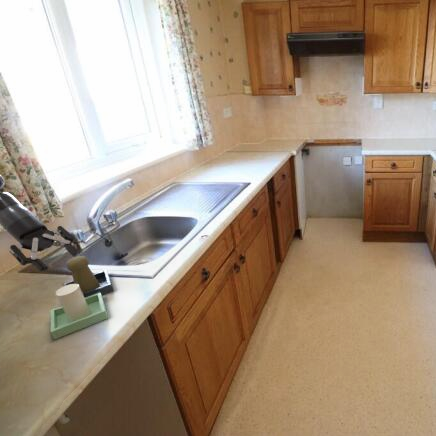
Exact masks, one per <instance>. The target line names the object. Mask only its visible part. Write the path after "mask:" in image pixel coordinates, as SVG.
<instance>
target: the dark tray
mask: <svg viewBox="0 0 436 436" xmlns="http://www.w3.org/2000/svg"><path fill="white" fill-rule="evenodd" d="M93 275H94V276H95V278H96V279H97V281H98V282H99V284H100V287H99V288H96V289H93V290H90V291H87V292H84V293H83V295H84V297H85V298H86V297H89V296H92V295H94V294H97V293H101V295H102V296H104V295H106V294H109V293H112V292H114V291H115V290H114V287H113V284H112V281H111V277H110V275H109V272H108V270H107V269H104V270H102V271H98V272H94V273H93ZM69 284H74V280H73V279H72V280H71V281H68V282H67V281H66V282H65V283H62V287H64V286H66V285H69Z"/></svg>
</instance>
